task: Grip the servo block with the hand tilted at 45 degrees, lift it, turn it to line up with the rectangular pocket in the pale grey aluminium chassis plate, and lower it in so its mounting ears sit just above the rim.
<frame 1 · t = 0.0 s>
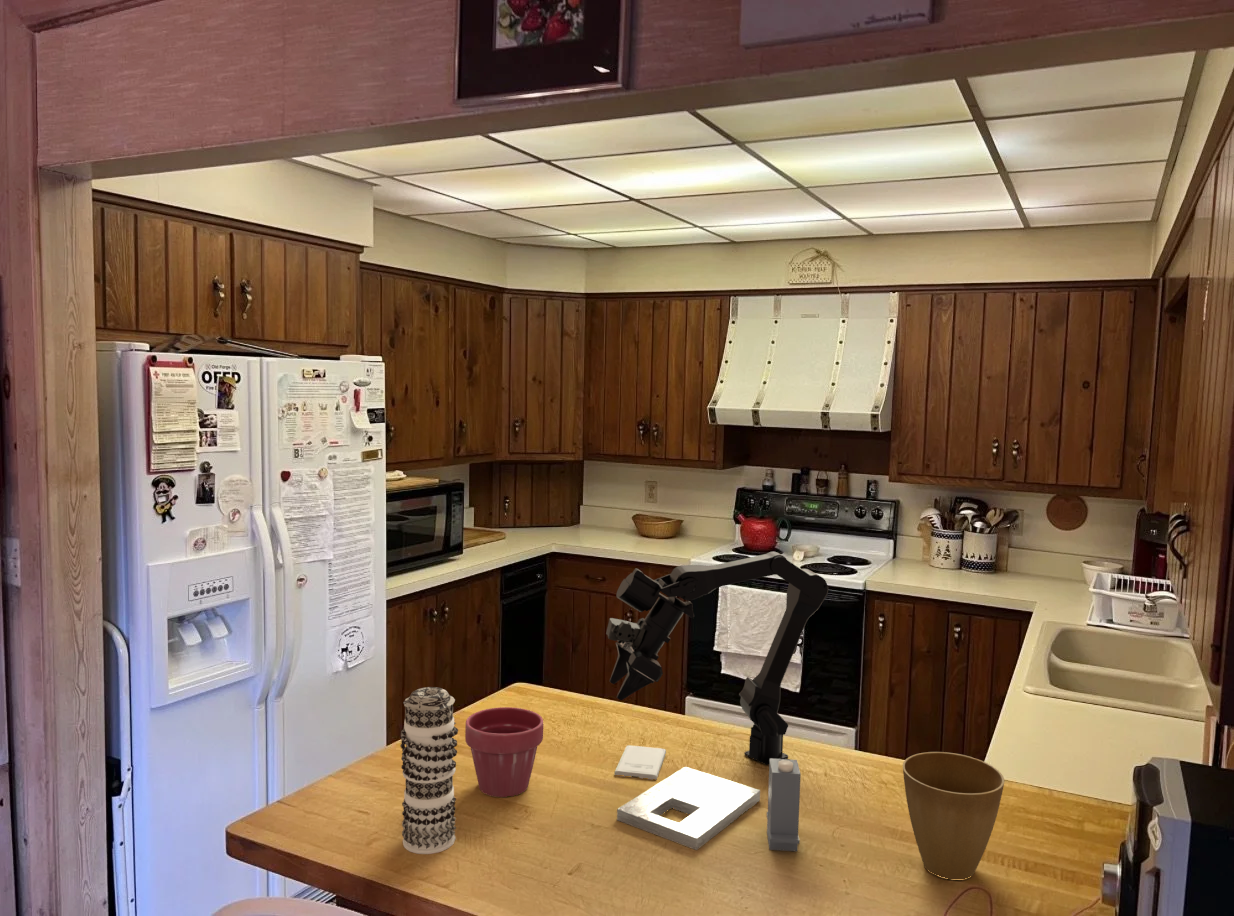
hand: (615, 690, 178), 15 cm above the kitchen island, tool tilted 35°, fingers open, 9 cm apart
plant pot 2: (504, 787, 169), on the kitchen island
servo block: (781, 841, 151), on the kitchen island
decorative candle: (429, 841, 149), on the kitchen island
external hard drive: (640, 767, 180), on the kitchen island
chassis plate: (690, 810, 161), on the kitchen island
plant pot: (947, 870, 143), on the kitchen island
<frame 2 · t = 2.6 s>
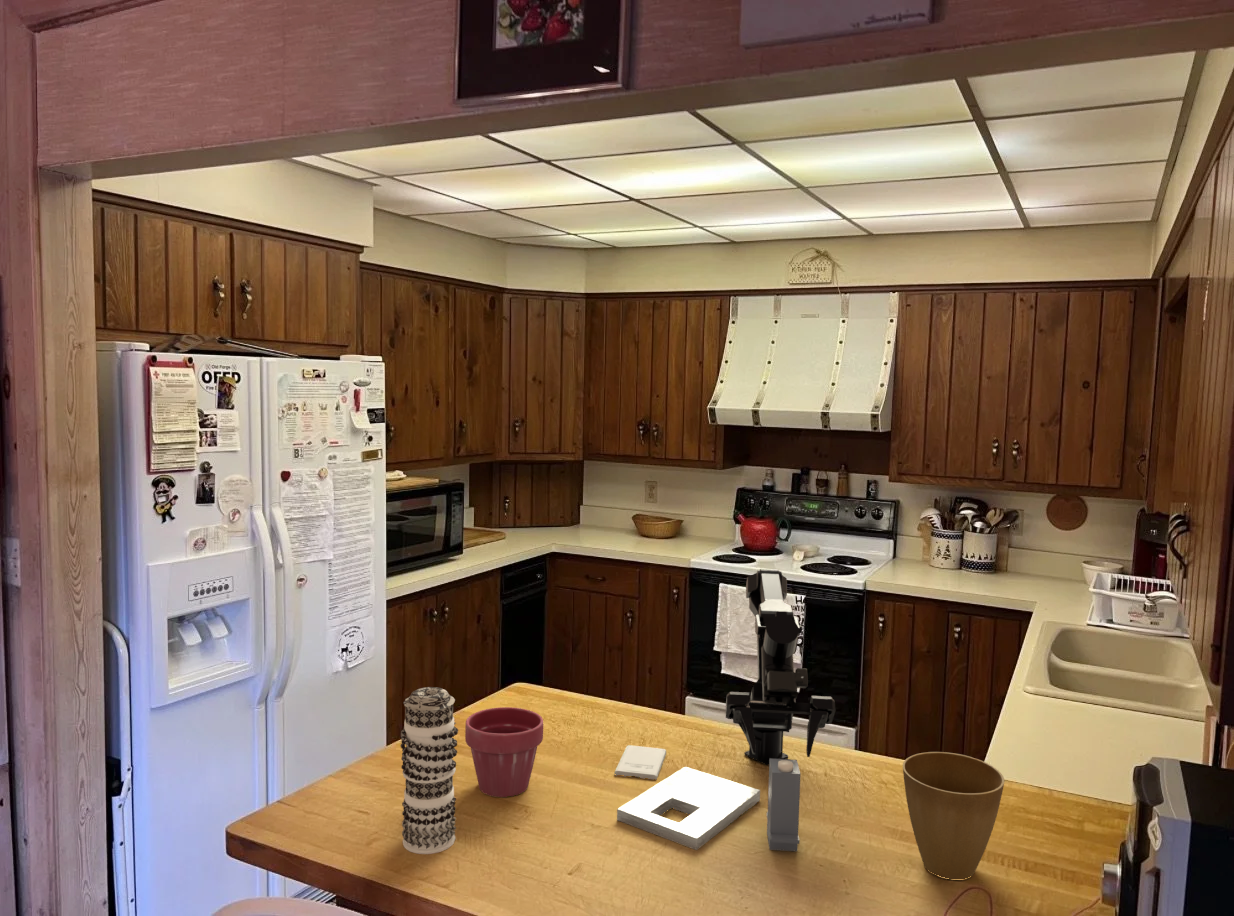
hand: (781, 754, 155), 12 cm above the kitchen island, tool tilted 45°, fingers open, 9 cm apart
nothing on the kitchen island moved.
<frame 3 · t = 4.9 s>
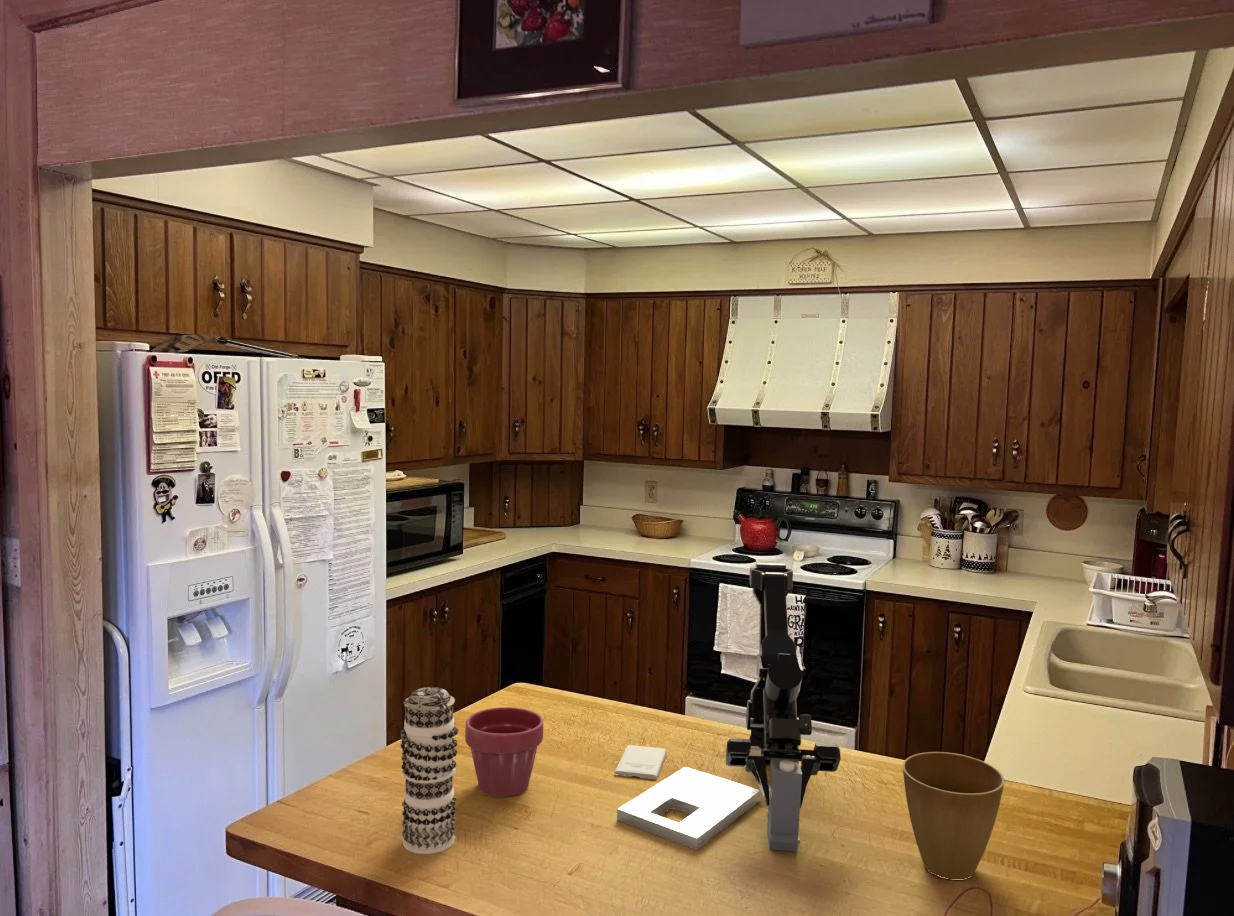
hand: (784, 805, 149), 7 cm above the kitchen island, tool tilted 45°, fingers closed on servo block, 5 cm apart
servo block: (781, 841, 151), on the kitchen island, touching gripper
everything else where it was.
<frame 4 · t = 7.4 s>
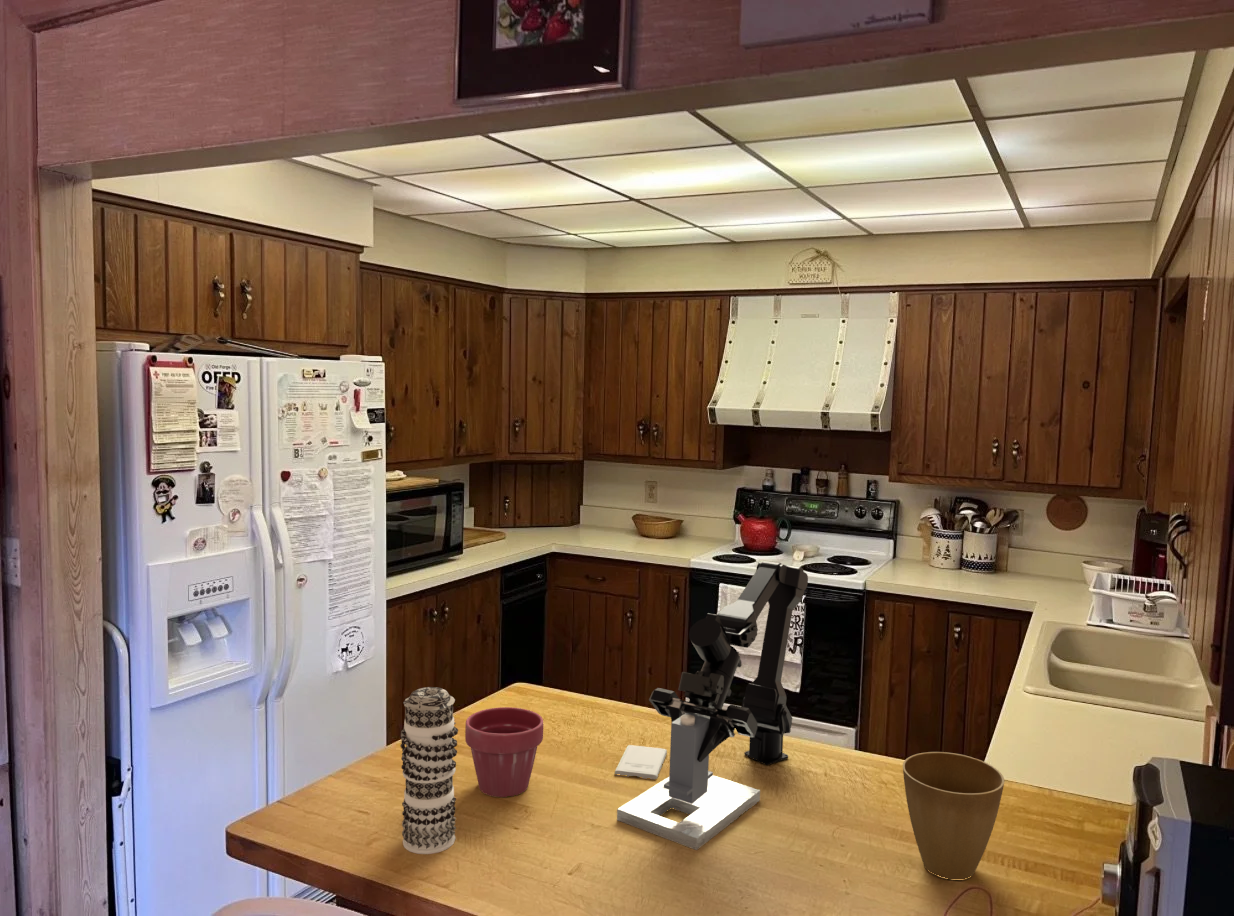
hand: (685, 757, 153), 12 cm above the kitchen island, tool tilted 45°, fingers closed on servo block, 5 cm apart
servo block: (688, 793, 155), point 5 cm above the kitchen island, touching gripper
everything else where it was.
when the fingers open (8 cm above the kitchen island, at t = 9.2 s): servo block stays where it is, resting in chassis plate.
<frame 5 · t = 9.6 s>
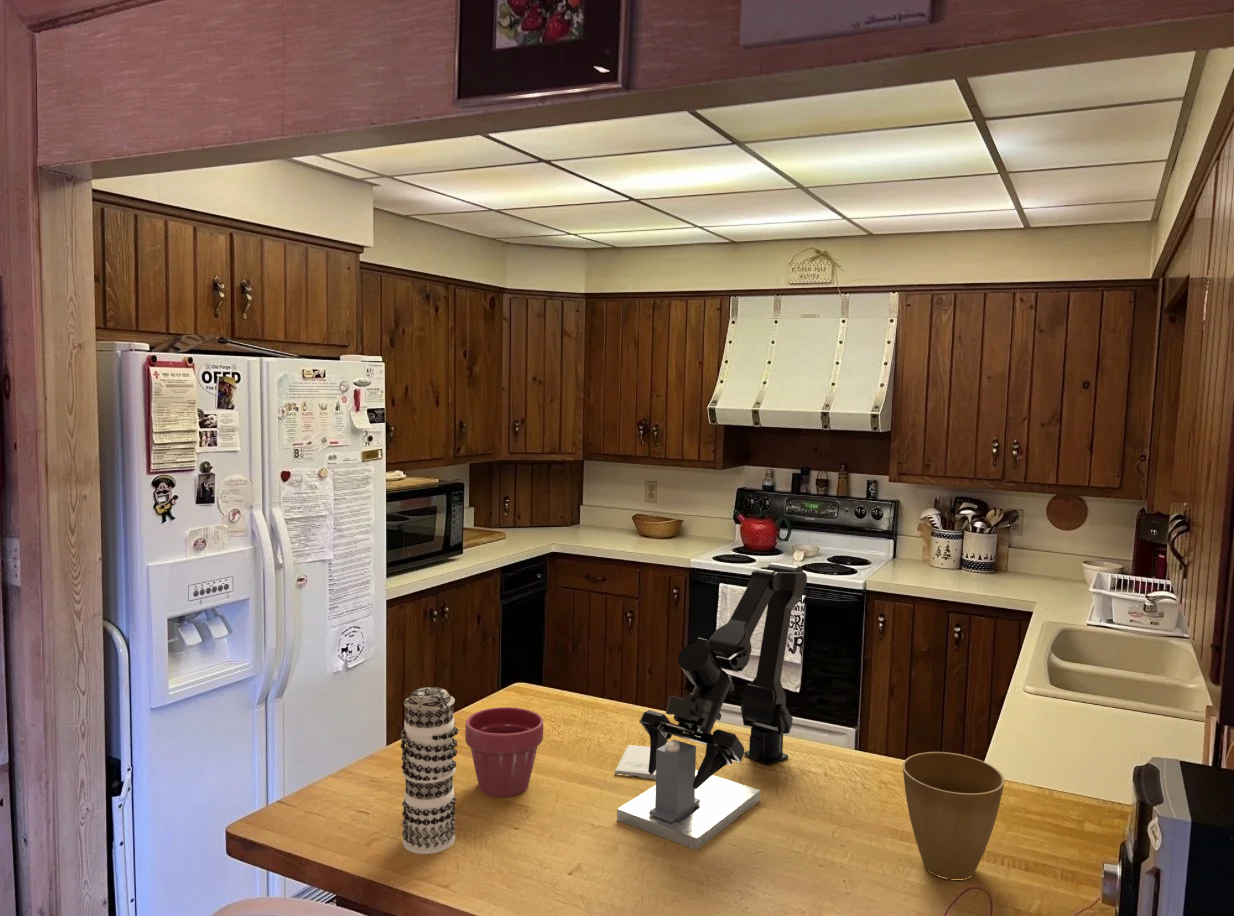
hand: (671, 780, 155), 8 cm above the kitchen island, tool tilted 45°, fingers open, 9 cm apart
servo block: (674, 820, 157), resting in chassis plate
everything else where it was.
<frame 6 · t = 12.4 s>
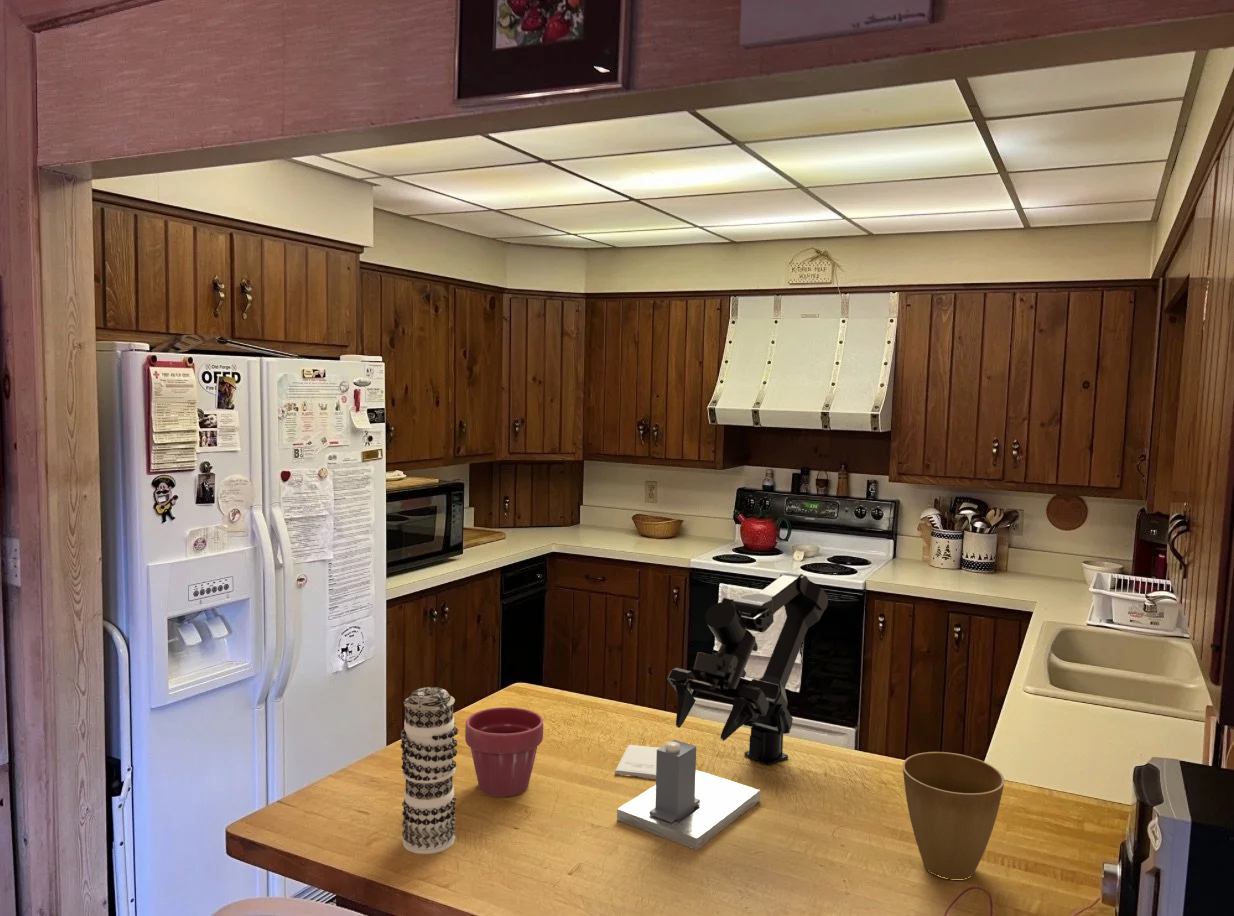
hand: (699, 732, 162), 13 cm above the kitchen island, tool tilted 45°, fingers open, 9 cm apart
nothing on the kitchen island moved.
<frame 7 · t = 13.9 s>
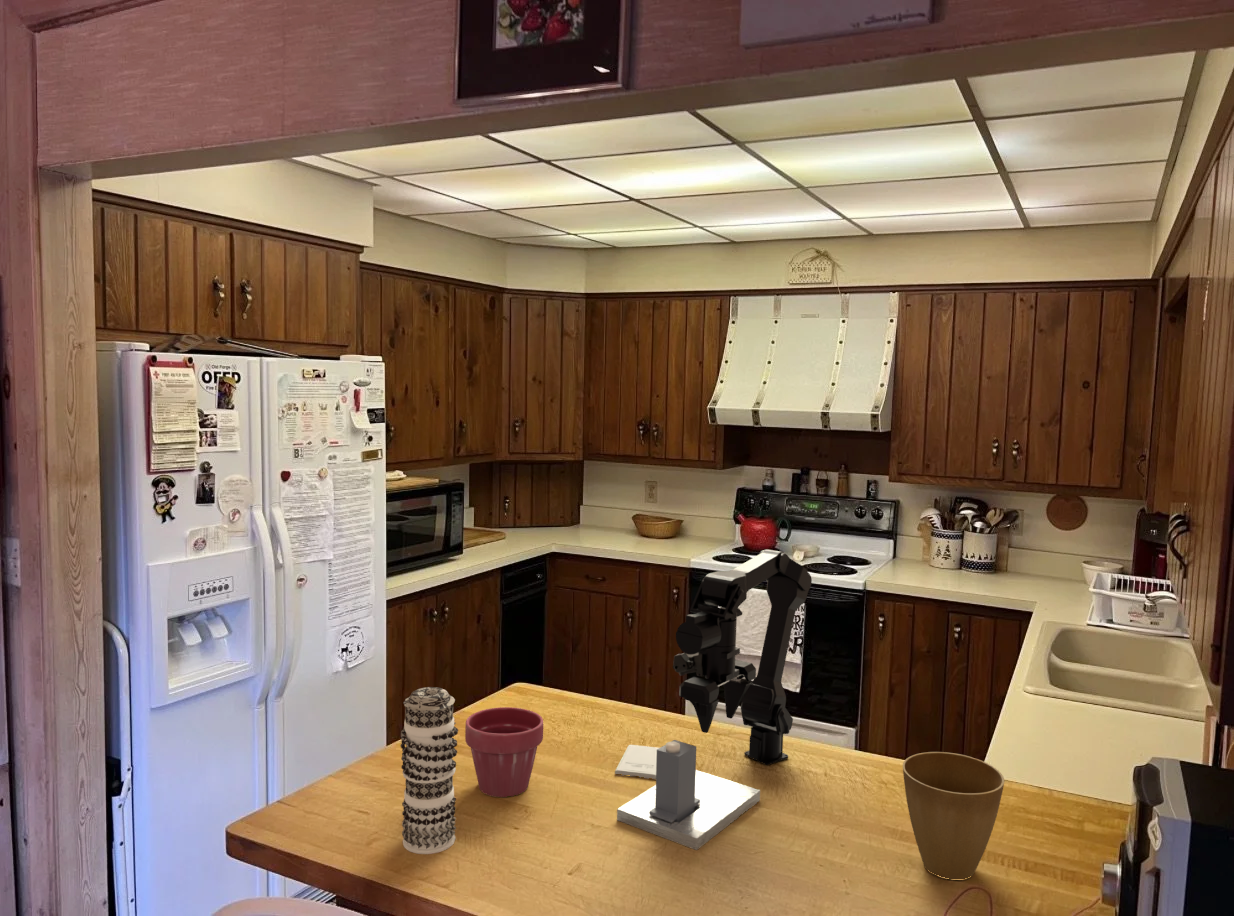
hand: (717, 724, 169), 12 cm above the kitchen island, tool pointing down, fingers open, 9 cm apart
nothing on the kitchen island moved.
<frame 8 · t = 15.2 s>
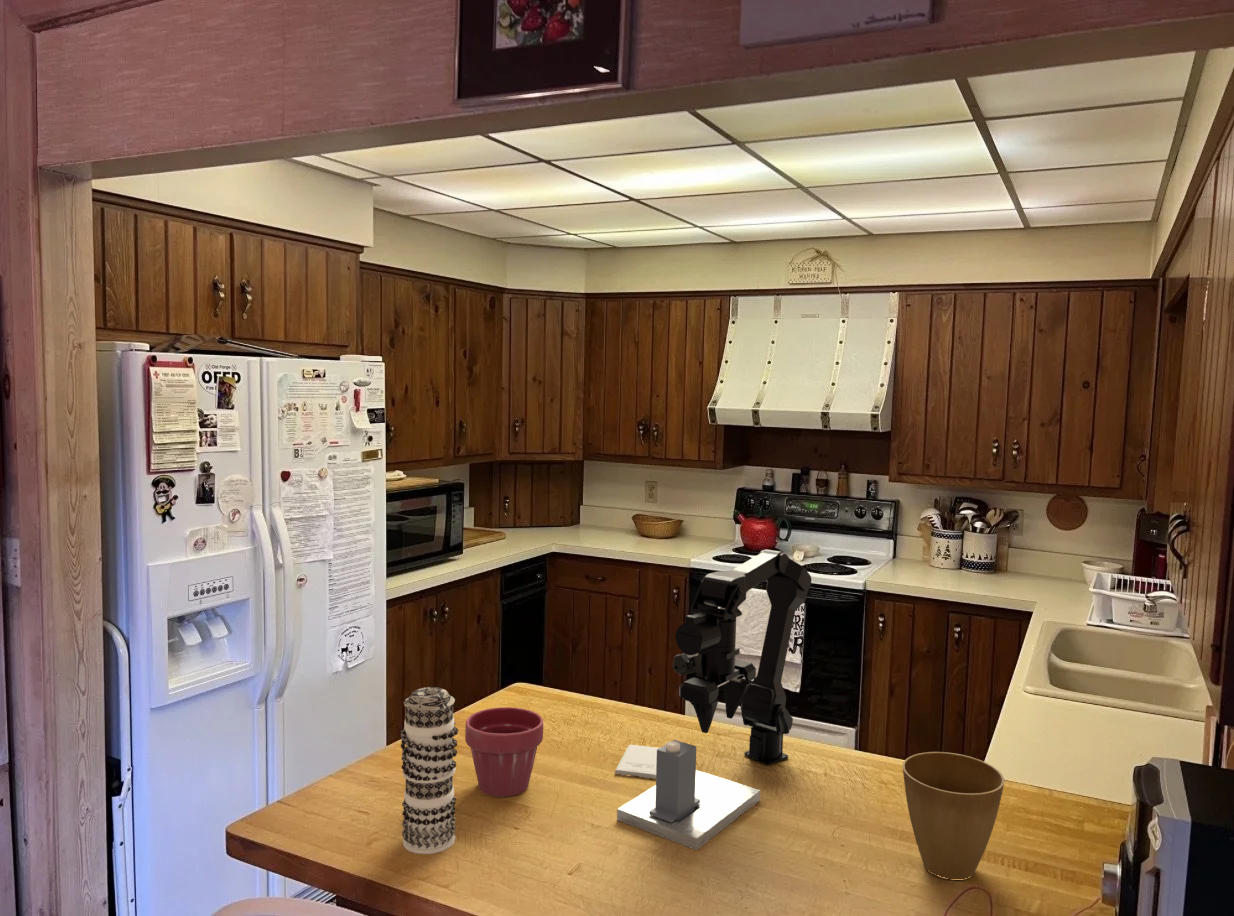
hand: (717, 725, 169), 12 cm above the kitchen island, tool pointing down, fingers open, 9 cm apart
nothing on the kitchen island moved.
at the end: servo block 0.1 cm from the target spot, resting in chassis plate; servo block tilted 0°; the gripper is holding nothing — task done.
